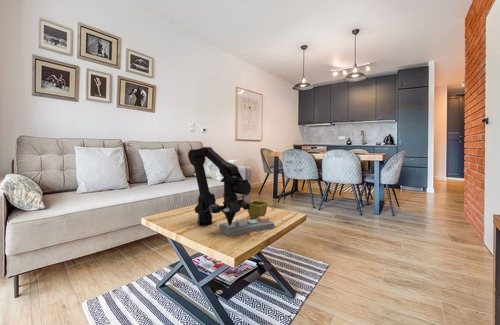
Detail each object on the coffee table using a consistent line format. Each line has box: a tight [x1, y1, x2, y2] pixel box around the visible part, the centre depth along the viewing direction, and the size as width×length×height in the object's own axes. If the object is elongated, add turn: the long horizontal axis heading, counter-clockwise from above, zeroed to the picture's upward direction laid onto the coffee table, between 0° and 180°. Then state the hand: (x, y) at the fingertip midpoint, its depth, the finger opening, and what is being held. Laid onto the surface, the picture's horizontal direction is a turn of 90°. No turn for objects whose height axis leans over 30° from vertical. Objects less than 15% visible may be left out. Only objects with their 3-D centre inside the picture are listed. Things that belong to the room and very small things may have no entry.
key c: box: [247, 219, 258, 225], centre depth 112 cm, size 4×4×3 cm
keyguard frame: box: [218, 219, 275, 237], centre depth 111 cm, size 25×10×2 cm, turn 116°
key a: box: [224, 223, 235, 228], centre depth 107 cm, size 4×4×3 cm
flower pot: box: [247, 200, 268, 220], centre depth 127 cm, size 9×9×9 cm
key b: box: [235, 218, 247, 227], centre depth 110 cm, size 4×4×3 cm
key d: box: [258, 215, 270, 223], centre depth 115 cm, size 4×4×3 cm
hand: (229, 224), depth 107 cm, fingers closed, pressing on key a
